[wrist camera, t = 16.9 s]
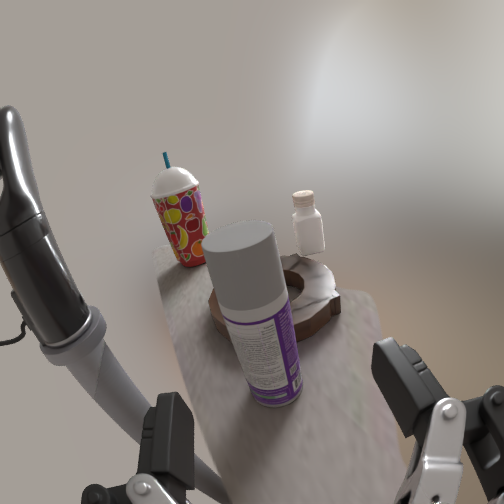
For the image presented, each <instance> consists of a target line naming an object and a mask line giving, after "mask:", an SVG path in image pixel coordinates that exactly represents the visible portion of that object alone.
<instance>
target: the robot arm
mask: <svg viewBox="0 0 504 504" xmlns="http://www.w3.org/2000/svg"><path fill="white" fill-rule="evenodd" d="M2 178H3V191H2V194H1V196H0V263H1V266H2V268H3V270H4V272H5V274H6V276H7V278H8V280H9V282H10V284H11V286H12V288H13V290H12V291H11V296H12V298H13V300H14V302H15V303H16V305H17V307H18V309H19V310H20V312H21V314H22V315H23V316H22V318H23V320H24V321H23V322H22V324H21V331H22V333H21V334H20V335H19V336H18V337H16V338H14V339H11V340H6V341H1V342H0V346H4V345H9V344H13V343H16V342H18V341H20V340H21V339H22V338H24V336H25V334H26V333H25V326H26V325H27V326H28V328H29V329H30V330H32V331H33V333H34V334H35V336H36V337H37V339H38V340H39V342H40V343H41V345H42V346H48V347H49V348H52V349H57V348H62V347H65V346H67V345H69V344H71V343H73V342H74V341H76V340H77V339H78V338H80V337H81V336H82V335H83V334H84V333H85V332H86V331H87V329H88V328H89V327H90V325H91V323H92V320H93V314H92V312H91V311H90V309H89V308H88V306H87V304H86V303H85V300H84V299H83V296H81V295H82V294H80V293H81V292H79V290H78V288H77V286H76V284H75V282H74V280H73V278H72V276H71V274H70V272H69V270H68V268H67V265H66V263H65V261H64V259H63V256H62V254H61V252H60V250H59V248H58V245H57V243H56V240H55V238H54V235H53V233H52V231H51V228H50V226H49V223H48V220H47V218H46V215H45V212H44V210H43V207H42V204H41V201H40V197H39V192H38V187H37V183H36V180H35V176H34V173H33V168H32V164H31V160H30V154H29V149H28V143H27V138H26V132H25V128H24V124H23V121H22V119H21V116H20V114H19V112H18V111H17V110H16V109H15V108H14V107H13V106H10V105H7V106H4V107H2V108H0V179H2ZM371 369H372V374H373V377H374V379H375V381H376V383H377V385H378V387H379V389H380V390H381V392H382V394H383V396H384V398H385V400H386V402H387V403H388V405H389V407H390V409H391V411H392V413H393V415H394V417H395V419H396V421H397V422H398V424H399V426H400V428H401V430H402V432H403V434H404V436H405V438H407V437H409V436H411V435H413V434H414V436H415V438H416V442H415V446H414V449H413V453H412V456H411V460H410V464H409V467H408V470H407V473H406V476H405V479H404V481H403V484H402V485H401V487H400V489H399V491H398V494H397V496H396V499H395V501H394V504H433V503H432V502H433V501H434V504H455V502H456V498H457V494H458V490H459V487H460V482H461V478H462V474H463V464H462V463H461V462H460V456H461V450H462V445H463V446H464V448H465V449H466V451H467V454H468V456H469V458H470V460H471V462H472V464H473V467H474V469H475V471H476V473H477V476H478V478H479V480H480V483H481V485H482V487H483V490H484V492H485V495H486V497H487V500H488V504H504V387H503V386H499V385H496V386H492V387H490V388H489V389H487V391H486V392H485V394H484V395H483V396H481V397H477V398H474V399H470V400H466V401H460V400H458V399H456V398H451V397H449V396H448V395H447V394H446V392H445V391H444V389H443V388H442V386H441V385H440V384H439V382H438V381H437V379H436V378H435V377H434V375H433V374H432V372H431V371H430V370H429V369H428V368H427V365H426V364H425V363H424V361H422V359H421V357H420V356H419V354H418V353H417V352H416V351H415V350H414V349H412V348H410V347H409V346H407V345H403V346H399V345H398V344H397V342H396V341H395V340H394V339H393V338H392V337H389V338H387V339H384V340H381V341H379V342H376V343H374V346H373V355H372V364H371ZM194 489H195V484H194V419H193V415H192V412H191V410H190V409H189V408H188V406H187V405H186V403H185V402H184V400H183V399H182V398H181V396H180V395H179V393H178V392H171V393H162V394H159V395H158V397H157V405H156V407H150V408H149V410H148V412H147V414H146V415H145V417H144V423H143V430H142V439H141V444H140V453H139V461H138V469H137V473H136V475H135V476H133V477H132V478H130V479H129V481H128V483H127V484H124V485H120V486H116V487H111V488H104V487H103V486H101V485H99V484H91V485H89V486H87V487H86V488H85V489H84V491H83V493H82V500H81V504H191V503H190V501H189V500H187V498H186V490H194Z"/></svg>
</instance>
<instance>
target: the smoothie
mask: <svg viewBox="0 0 504 504" xmlns="http://www.w3.org/2000/svg"><path fill="white" fill-rule="evenodd" d="M163 157H164V160H165V164H166V168H167V169H165V170H163V171H162V172H161V173H160V174H159V175H158V176H157V177H156V179H155V181H154V184H153V188H152V195H151V198H152V199H153V202H154V205H155V208H156V210H157V213H158V215H159V218H160V220H161V223H162V225H163V228H164V230H165V232H166V235H167V237H168V240H169V242H170V244H171V247H172V249H173V251H174V254H175V256H176V258H177V260H178V261H180V262H181V264H182V265H183V266H186V267H193V266H197V265H200V264H202V263H204V262H206V260H205V257H204V253H203V250H202V246H201V243H202V240H203V239H204V238H205V237H206V236H207V235H208V234H209V231H208V227H207V222H206V218H205V213H204V208H203V204H202V199H201V194H200V190H199V185H198V180H196V179H195V178H194V177H193V175H192V174H191V173H190V172H189V171H187V170H186V169H183V168H180V167H170V164H169V160H168V157H167V153H166V152H164V153H163Z"/></svg>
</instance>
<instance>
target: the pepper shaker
mask: <svg viewBox="0 0 504 504" xmlns="http://www.w3.org/2000/svg"><path fill="white" fill-rule="evenodd" d="M292 197H293V202H294V207H295V210H296V213H294V214H292V219H293V224H294V230H295V236H296V243H297V247H298V249H299V251H300V253H301V254H302V255H303V256H307V255H311V254H315V253H320V252H323V251H324V250H325V244H324V235H323V227H322V219H321V215H320V213H319V212H318V211H317V210H315V201H314V194H313V191H310V190H305V191H299V192H296V193H294V194H293V196H292Z"/></svg>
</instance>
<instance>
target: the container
mask: <svg viewBox="0 0 504 504" xmlns="http://www.w3.org/2000/svg"><path fill="white" fill-rule="evenodd" d="M201 246H202V250H203V253H204V257H205V260H206V264H207V267H208V270H209V274H210V277H211V280H212V284H213V287H214V290H215V294H216V297H217V300H218V303H219V306H220V310H221V313H222V316H223V318H224V321H225V324H226V327H227V329H228V332H229V335H230V338H231V340H232V343H233V346H234V348H235V351H236V354H237V356H238V359H239V362H240V364H241V367H242V370H243V372H244V375H245V377H246V380H247V382H248V385H249V387H250V390H251V392H252V395H253V397H254V399H255V400H256V401H257V402H258V403H260V404H261V405H264V406H267V407H282V406H285V405H288V404H290V403H291V402H293V401H294V400H295V399H296V398H297V397H298V396H299V395H300V393H301V391H302V387H303V382H302V375H301V368H300V362H299V356H298V349H297V343H296V337H295V331H294V325H293V319H292V314H291V308H290V302H289V296H288V292H287V287H286V283H285V278H284V273H283V269H282V264H281V260H280V256H279V251H278V246H277V242H276V237H275V233H274V229H273V226H272V225H271V224H270V223H268V222H266V221H261V220H247V221H241V222H235V223H232V224H229V225H225V226H223V227H220V228H218V229H216V230H214V231H213V232H211V233H209V234H208V235H207V236H206V237H205V238H204V239H203V240H202V243H201Z"/></svg>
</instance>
